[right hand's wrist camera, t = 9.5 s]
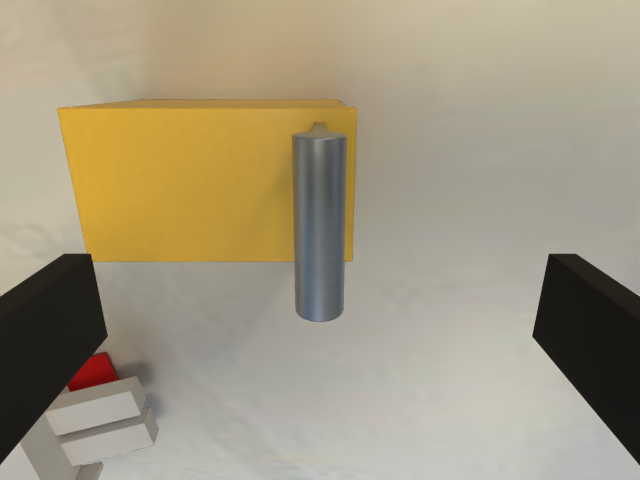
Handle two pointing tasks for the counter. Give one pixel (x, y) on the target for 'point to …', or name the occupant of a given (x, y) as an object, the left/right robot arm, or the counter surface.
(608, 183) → the counter surface
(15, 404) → the right robot arm
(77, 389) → the toy
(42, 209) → the counter surface
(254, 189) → the yellow block with rod
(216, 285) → the counter surface
